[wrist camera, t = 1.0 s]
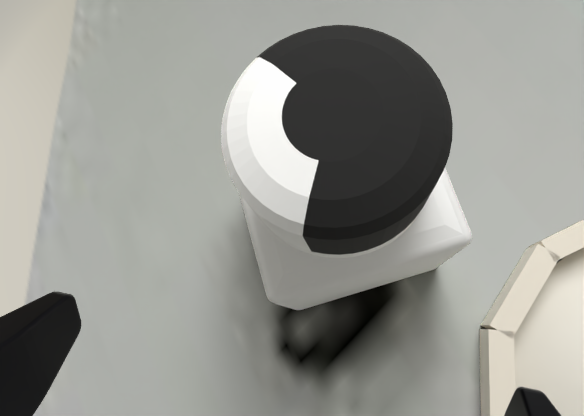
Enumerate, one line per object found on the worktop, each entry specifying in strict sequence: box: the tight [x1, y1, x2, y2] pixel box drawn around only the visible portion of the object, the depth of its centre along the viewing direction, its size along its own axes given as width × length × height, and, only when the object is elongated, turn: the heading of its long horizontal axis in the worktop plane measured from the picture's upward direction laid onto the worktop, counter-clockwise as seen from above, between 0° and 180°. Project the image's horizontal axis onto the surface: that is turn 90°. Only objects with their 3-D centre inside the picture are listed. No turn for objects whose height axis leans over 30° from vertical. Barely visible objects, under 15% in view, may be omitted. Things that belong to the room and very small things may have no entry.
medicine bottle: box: [221, 25, 472, 310], centre depth 17 cm, size 7×7×12 cm
